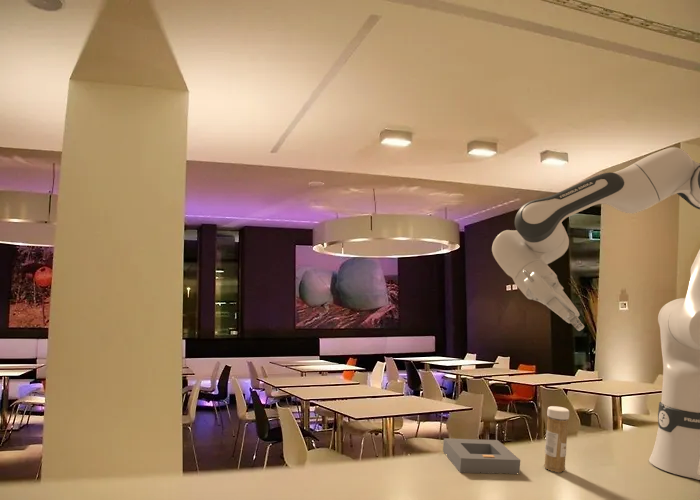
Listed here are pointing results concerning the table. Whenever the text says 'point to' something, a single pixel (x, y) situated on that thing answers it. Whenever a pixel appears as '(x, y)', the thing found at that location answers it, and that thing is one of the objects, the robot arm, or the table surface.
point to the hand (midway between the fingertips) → (574, 322)
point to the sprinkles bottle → (556, 438)
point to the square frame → (480, 456)
